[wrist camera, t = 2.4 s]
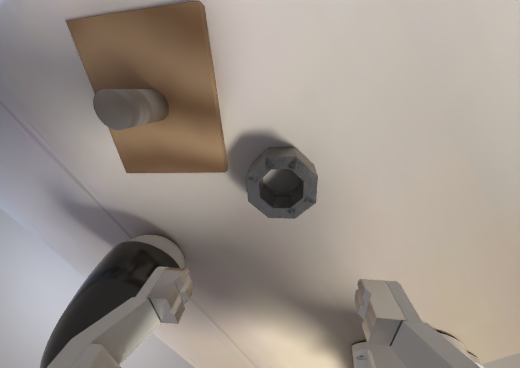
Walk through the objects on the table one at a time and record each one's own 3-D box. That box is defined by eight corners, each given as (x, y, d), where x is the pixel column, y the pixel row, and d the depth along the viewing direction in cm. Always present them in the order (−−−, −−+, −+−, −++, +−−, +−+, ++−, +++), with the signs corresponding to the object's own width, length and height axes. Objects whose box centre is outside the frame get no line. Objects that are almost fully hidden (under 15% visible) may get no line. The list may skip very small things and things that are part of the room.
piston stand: (228, 168, 21) (207, 195, 16) (132, 169, 23) (86, 193, 18) (204, 5, 15) (158, -40, 10) (77, 24, 17) (-19, -6, 12)
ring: (311, 203, 22) (314, 219, 19) (254, 202, 23) (250, 217, 20) (315, 146, 19) (319, 155, 16) (249, 148, 20) (243, 157, 17)
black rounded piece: (206, 245, 27) (125, 399, 14) (181, 282, 32) (102, 424, 18) (140, 209, 26) (-22, 340, 12) (124, 253, 30) (-6, 383, 17)
